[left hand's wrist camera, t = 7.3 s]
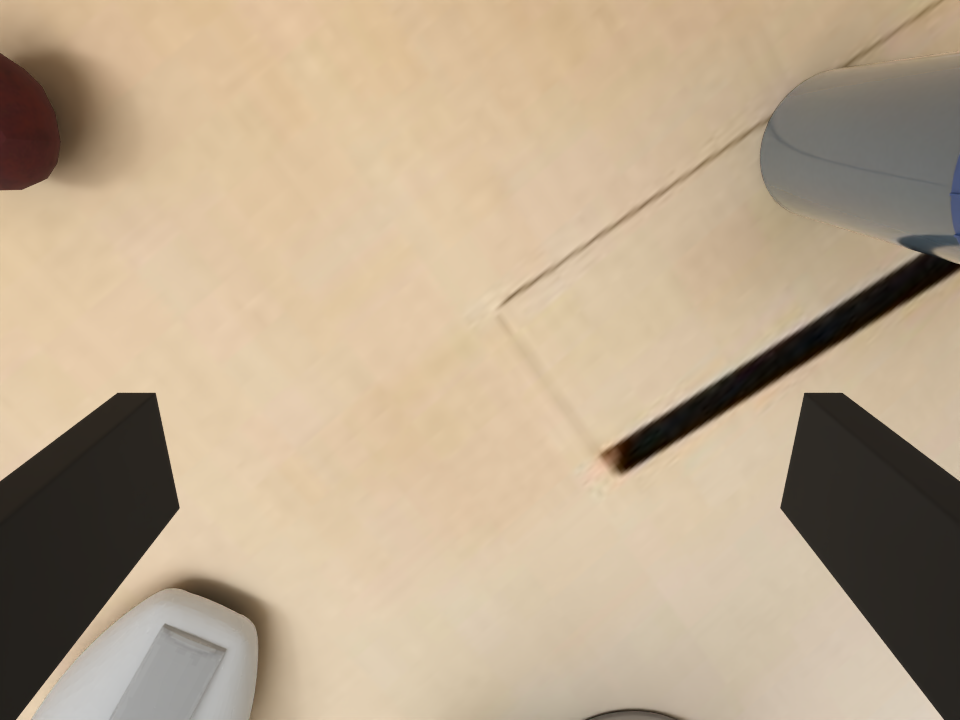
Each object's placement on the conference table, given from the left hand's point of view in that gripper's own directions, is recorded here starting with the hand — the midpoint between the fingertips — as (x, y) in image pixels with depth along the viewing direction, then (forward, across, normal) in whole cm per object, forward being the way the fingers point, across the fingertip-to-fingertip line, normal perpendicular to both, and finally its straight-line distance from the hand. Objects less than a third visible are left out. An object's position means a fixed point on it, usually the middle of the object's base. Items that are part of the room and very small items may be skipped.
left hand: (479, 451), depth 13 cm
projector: (+28, +27, +38) cm, 54 cm away
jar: (+28, -21, -5) cm, 35 cm away
